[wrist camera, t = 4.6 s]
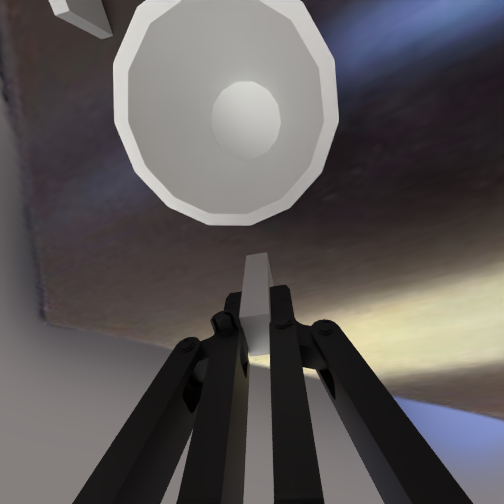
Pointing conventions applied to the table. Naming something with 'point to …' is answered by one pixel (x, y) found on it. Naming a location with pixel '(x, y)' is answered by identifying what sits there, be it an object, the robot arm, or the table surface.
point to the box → (84, 15)
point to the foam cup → (225, 105)
